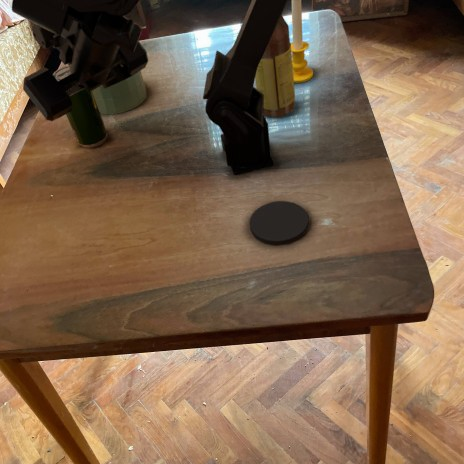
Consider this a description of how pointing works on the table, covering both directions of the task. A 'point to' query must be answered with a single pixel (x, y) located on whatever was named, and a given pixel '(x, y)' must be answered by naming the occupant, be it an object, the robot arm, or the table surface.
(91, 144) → the beer can
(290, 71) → the sauce bottle
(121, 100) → the pot
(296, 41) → the candle
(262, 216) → the black coaster
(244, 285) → the table surface
